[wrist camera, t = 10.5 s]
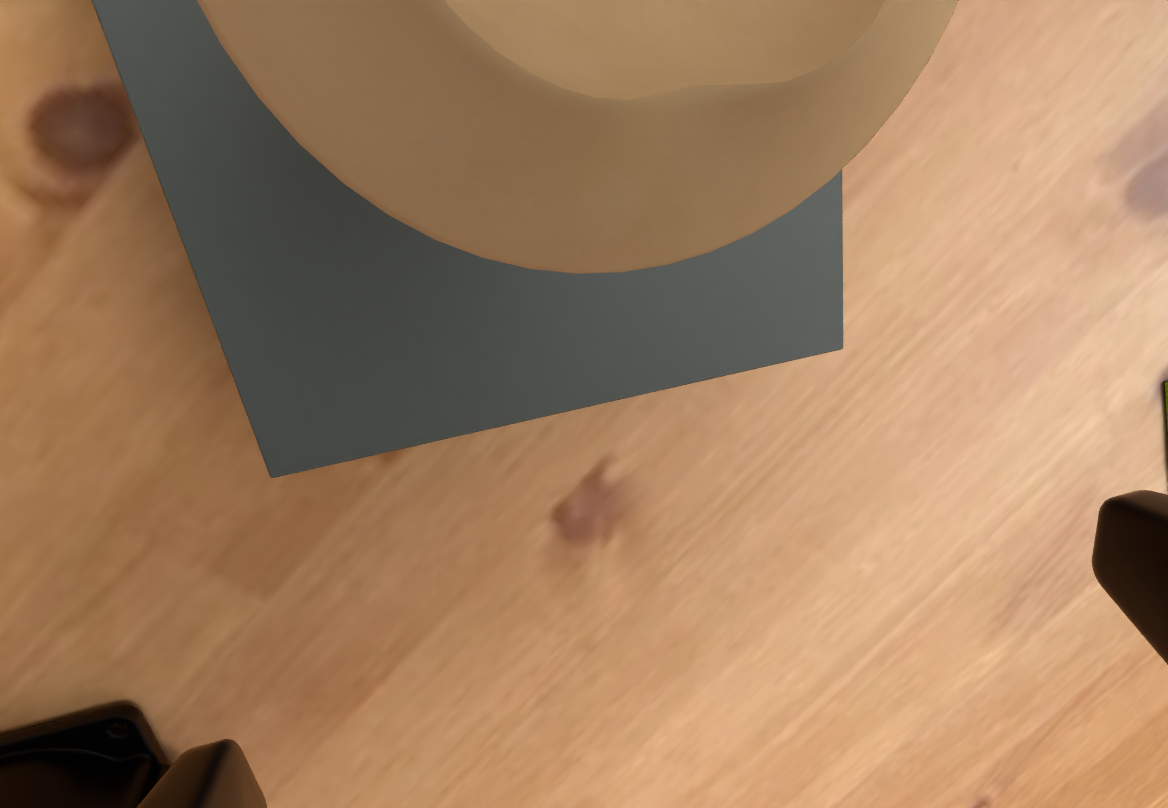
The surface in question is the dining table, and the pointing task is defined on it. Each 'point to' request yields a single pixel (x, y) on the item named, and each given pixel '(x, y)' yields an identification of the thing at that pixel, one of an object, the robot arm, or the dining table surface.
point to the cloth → (1167, 391)
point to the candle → (582, 111)
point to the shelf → (428, 281)
